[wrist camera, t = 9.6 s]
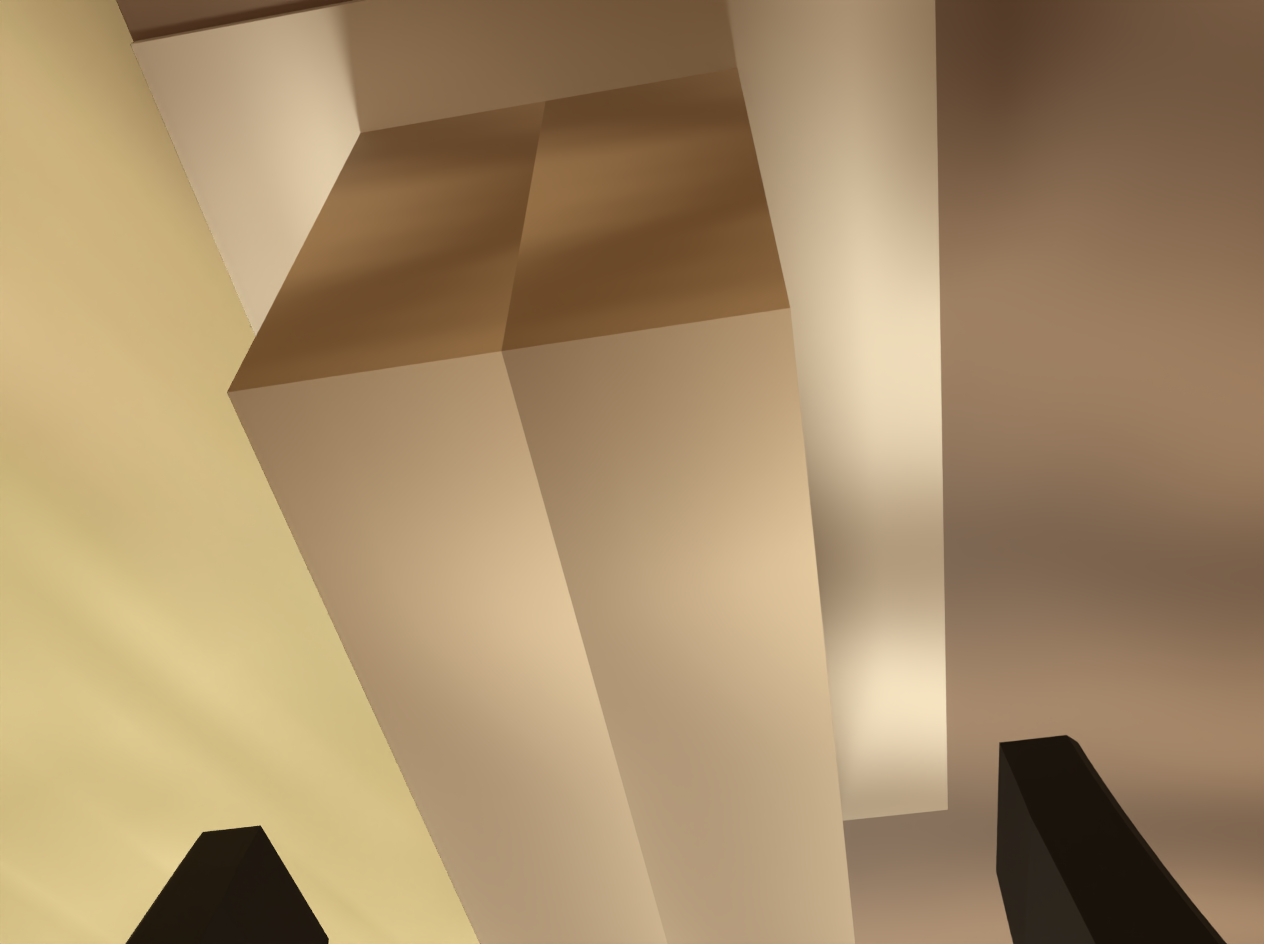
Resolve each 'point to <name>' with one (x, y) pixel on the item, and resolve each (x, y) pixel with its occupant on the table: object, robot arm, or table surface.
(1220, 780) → the board
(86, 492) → the table surface
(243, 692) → the table surface
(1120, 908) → the robot arm
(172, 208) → the table surface
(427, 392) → the tan wooden bar
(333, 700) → the table surface
